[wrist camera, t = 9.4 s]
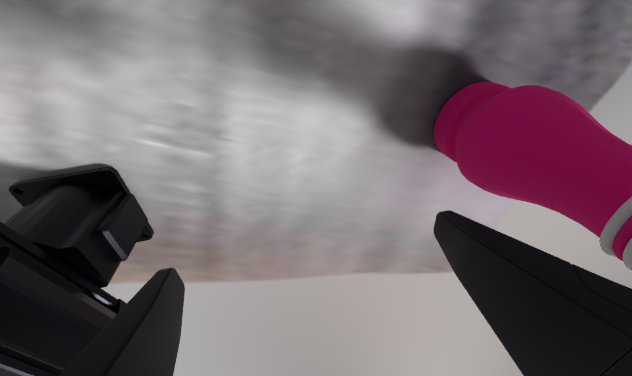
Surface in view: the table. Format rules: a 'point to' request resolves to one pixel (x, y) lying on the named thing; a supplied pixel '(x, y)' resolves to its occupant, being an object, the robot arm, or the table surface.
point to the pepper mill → (542, 156)
